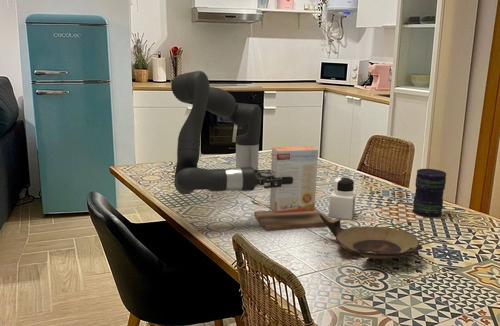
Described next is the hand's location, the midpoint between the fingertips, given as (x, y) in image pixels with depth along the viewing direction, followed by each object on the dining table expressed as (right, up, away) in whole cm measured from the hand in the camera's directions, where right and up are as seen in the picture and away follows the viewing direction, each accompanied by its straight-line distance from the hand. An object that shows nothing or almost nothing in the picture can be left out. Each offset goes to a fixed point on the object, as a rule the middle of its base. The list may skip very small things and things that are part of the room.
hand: (289, 177), depth 162 cm
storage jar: (+50, -13, +15) cm, 54 cm away
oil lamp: (+22, -21, -17) cm, 35 cm away
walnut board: (+1, -14, +4) cm, 15 cm away
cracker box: (+1, -11, +3) cm, 11 cm away
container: (+19, -13, +11) cm, 26 cm away
